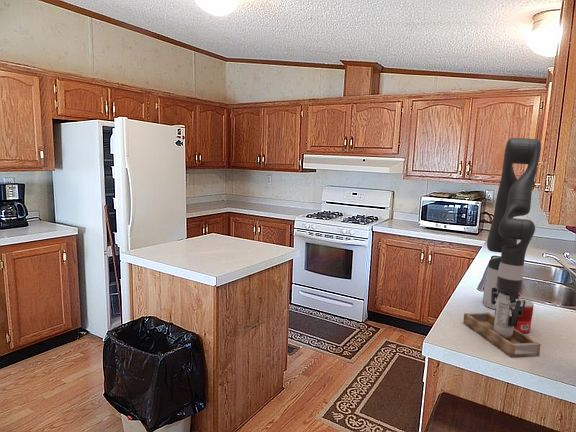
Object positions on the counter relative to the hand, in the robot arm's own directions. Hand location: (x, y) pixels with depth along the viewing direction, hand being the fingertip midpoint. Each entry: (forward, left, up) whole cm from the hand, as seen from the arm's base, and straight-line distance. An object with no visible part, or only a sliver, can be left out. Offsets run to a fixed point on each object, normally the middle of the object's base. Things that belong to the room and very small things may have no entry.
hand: (504, 321), depth 139 cm
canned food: (-8, +13, -7) cm, 17 cm away
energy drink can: (0, 0, -5) cm, 5 cm away
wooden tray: (-2, 0, -7) cm, 7 cm away
